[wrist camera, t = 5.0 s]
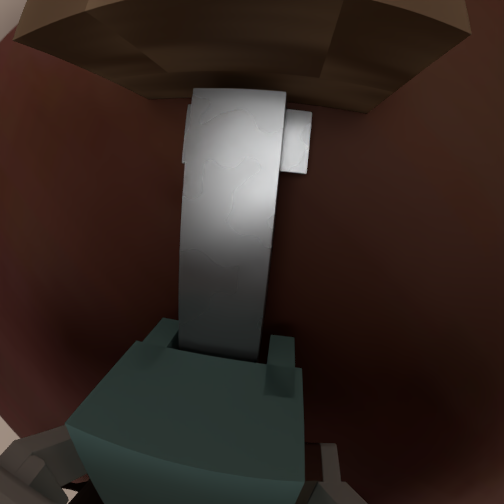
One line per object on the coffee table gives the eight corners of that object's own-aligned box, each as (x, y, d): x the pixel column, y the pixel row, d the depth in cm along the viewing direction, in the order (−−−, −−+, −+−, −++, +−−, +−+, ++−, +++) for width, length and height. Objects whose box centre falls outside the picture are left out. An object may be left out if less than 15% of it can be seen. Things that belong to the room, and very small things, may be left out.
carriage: (300, 338, 10) (304, 481, 4) (275, 449, 11) (264, 560, 6) (157, 316, 10) (64, 423, 5) (166, 429, 12) (119, 527, 6)
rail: (309, 118, 10) (335, 48, 4) (259, 465, 14) (245, 555, 8) (196, 110, 10) (107, 52, 4) (188, 452, 14) (156, 536, 8)
